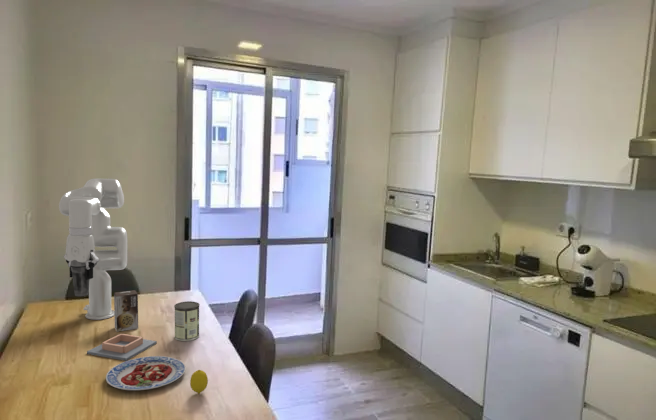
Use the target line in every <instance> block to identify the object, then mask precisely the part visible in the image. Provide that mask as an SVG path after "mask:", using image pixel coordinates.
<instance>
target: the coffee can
mask: <svg viewBox="0 0 656 420" xmlns="http://www.w3.org/2000/svg"><path fill="white" fill-rule="evenodd" d="M173 308H174V339H175V340H176V341H180V342H188V341H189V342H190V341H195V340H197V339H198V338H200V303H199V302H197V301H192V300H191V301H182V302H178V303H175V304H174V306H173Z"/></svg>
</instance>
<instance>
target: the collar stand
mask: <svg viewBox="0 0 656 420" xmlns="http://www.w3.org/2000/svg"><path fill="white" fill-rule="evenodd" d="M156 344H157V340H152V339H146V338H144V337H142V336H140V335H139V336H138V335H131V334H127V333H126V334H125V333H119V334H117V335H115V336H113V337H111V338H109V339H107V340H105V341H102V342H101V344H98V346H95V347H93V348H90V349H89V350H87V351H86V354H87V355H90V354H91V355H90V356H96V355H97V357H103V358H108V359H114V360H119V361H123V362H125V361H128V360H132V358H134V357H136V356H138V355H139V354H141V353H143V352H144V351H146V350H148V349H150V348H151V347H154V346H155V345H156Z"/></svg>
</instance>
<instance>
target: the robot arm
mask: <svg viewBox="0 0 656 420" xmlns="http://www.w3.org/2000/svg"><path fill="white" fill-rule="evenodd" d="M124 204H125V194H124V191H123V189H122V184H121V183H120V182H119V181H118V179H115V178H99V177H98V178H91V179H88V180H86V182H85V184H84V185H83V186H82V187H80V188H75V189H72V190H69V191H67V192H65V193H63V195H62V196H61V198H60V200H59V202H58V210H59V212H60V214H61V215H63V216H67V217H68V220H69V221H68V223H69V225H68V233H69V234H68V235H67V237H66V243H65V253H64V254H63V258H64V259H65V262H66V263H67V267H69V278H73V277H72V271H71V267H70V265H71V261H73V260H77V261H78V262H80V263H85V266H86V268H87V269H85V279H86V280H88V279H90V281H89V291H88V304H86V305H85V306H84V307H83V310H84V311H87V313H86V314H85V319H87V320H93V321H96V320H97V321H98V320H99V321H100V320H106V319H110V318H112V317H115V316H114V310H113V309H112V278H111V276H110V274H109V273H108V272H107V271H120V270H124V269H126V268H127V265H128V232H127V230H126V229H125V228H124V227H122V226H111V215H110V213H109V212H108V211H107V210H106V209H120V208H122V207H123V206H124ZM114 247H115V248H116V249H95V248H114ZM88 260H89V261H88ZM89 262H90V265H89V264H88V263H89Z"/></svg>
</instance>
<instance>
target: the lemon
mask: <svg viewBox="0 0 656 420" xmlns="http://www.w3.org/2000/svg"><path fill="white" fill-rule="evenodd" d="M208 382H209V379H208V375H207V372H205V371H204V370H202V369H198V370H196V371H193V373H192V374H191V377H190V380H189V383H190V388H191V390H192V391H193V392H194V393H197V394H200V393H202V392H204V391H205V390H206V389H207V387H208Z"/></svg>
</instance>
